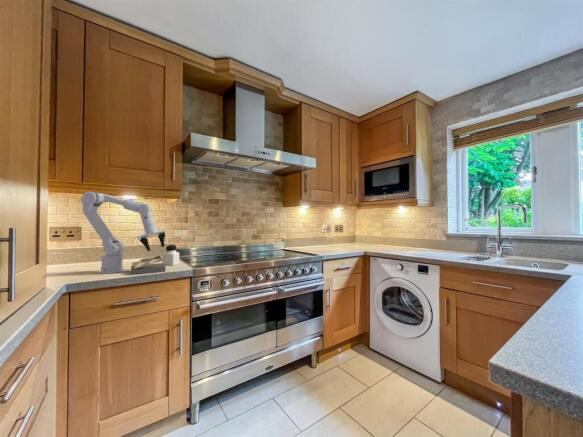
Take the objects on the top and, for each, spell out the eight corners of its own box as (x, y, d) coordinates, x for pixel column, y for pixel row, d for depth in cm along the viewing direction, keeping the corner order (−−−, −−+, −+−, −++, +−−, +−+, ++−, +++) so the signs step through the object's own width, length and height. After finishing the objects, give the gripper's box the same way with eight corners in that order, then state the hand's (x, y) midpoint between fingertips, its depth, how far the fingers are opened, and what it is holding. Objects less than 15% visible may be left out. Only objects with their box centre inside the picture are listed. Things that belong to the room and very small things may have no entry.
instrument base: (132, 275, 130) (132, 269, 130) (131, 270, 141) (131, 265, 141) (165, 271, 139) (165, 266, 139) (161, 267, 150) (161, 263, 150)
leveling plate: (133, 268, 131) (132, 263, 131) (132, 265, 141) (130, 259, 140) (163, 260, 139) (162, 255, 138) (160, 257, 149) (158, 252, 148)
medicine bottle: (179, 263, 163) (179, 244, 163) (173, 265, 156) (173, 245, 156) (168, 263, 164) (168, 244, 164) (162, 265, 157) (162, 245, 157)
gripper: (137, 227, 134) (145, 252, 135) (165, 221, 145) (172, 244, 146) (133, 229, 139) (140, 253, 140) (160, 223, 150) (166, 245, 151)
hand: (156, 248), depth 143 cm, fingers open, 7 cm apart
